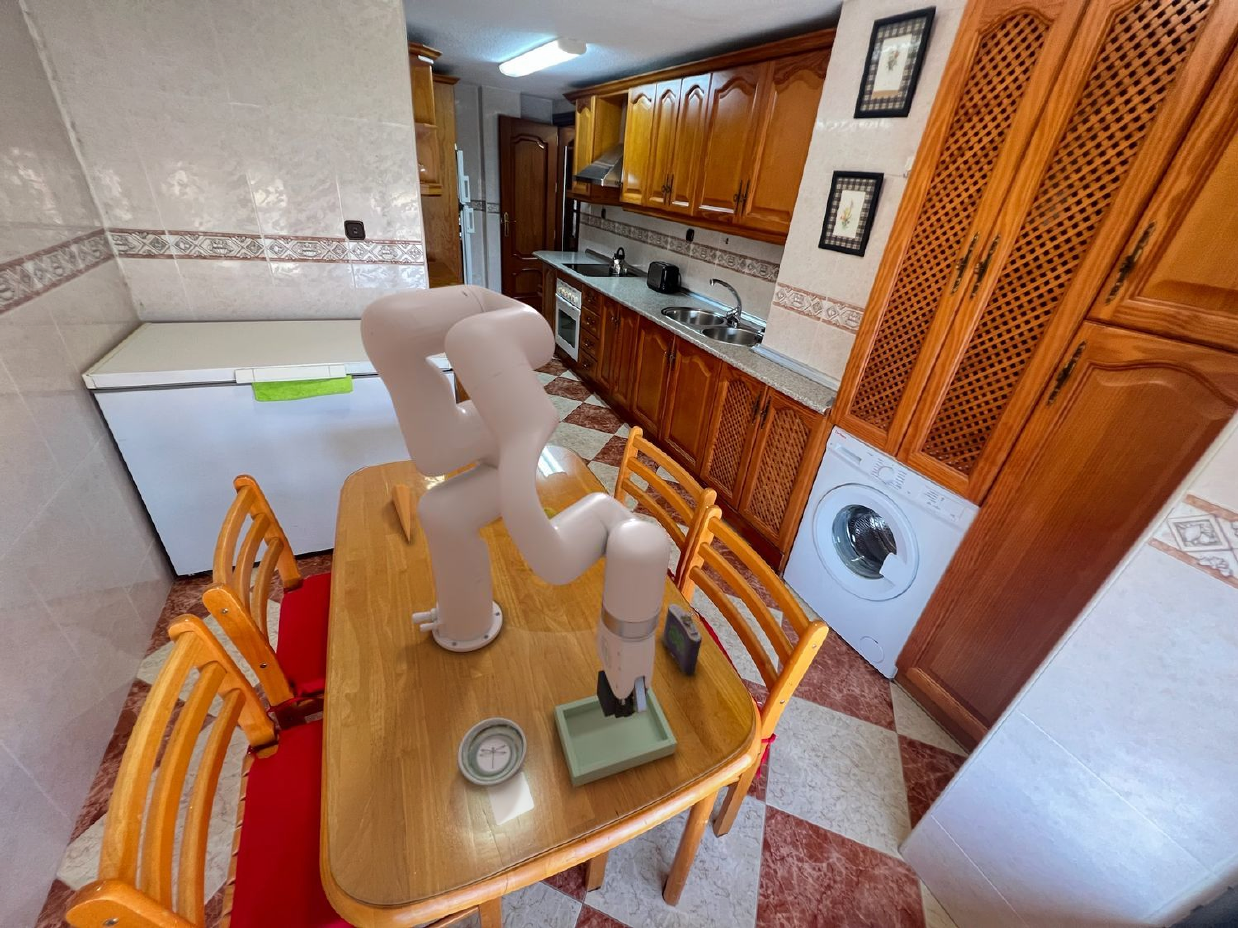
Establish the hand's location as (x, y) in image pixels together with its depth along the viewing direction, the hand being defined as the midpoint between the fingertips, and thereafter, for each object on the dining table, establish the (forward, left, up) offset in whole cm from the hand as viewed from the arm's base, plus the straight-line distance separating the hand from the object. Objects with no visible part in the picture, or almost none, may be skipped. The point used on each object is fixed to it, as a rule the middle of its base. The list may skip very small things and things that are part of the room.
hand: (619, 698), depth 72 cm
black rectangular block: (0, 0, 0) cm, 0 cm away
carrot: (-30, +65, -10) cm, 72 cm away
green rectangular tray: (0, 0, -9) cm, 9 cm away
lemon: (+1, +50, -10) cm, 51 cm away
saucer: (-18, +2, -10) cm, 21 cm away
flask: (+16, +11, -10) cm, 22 cm away
